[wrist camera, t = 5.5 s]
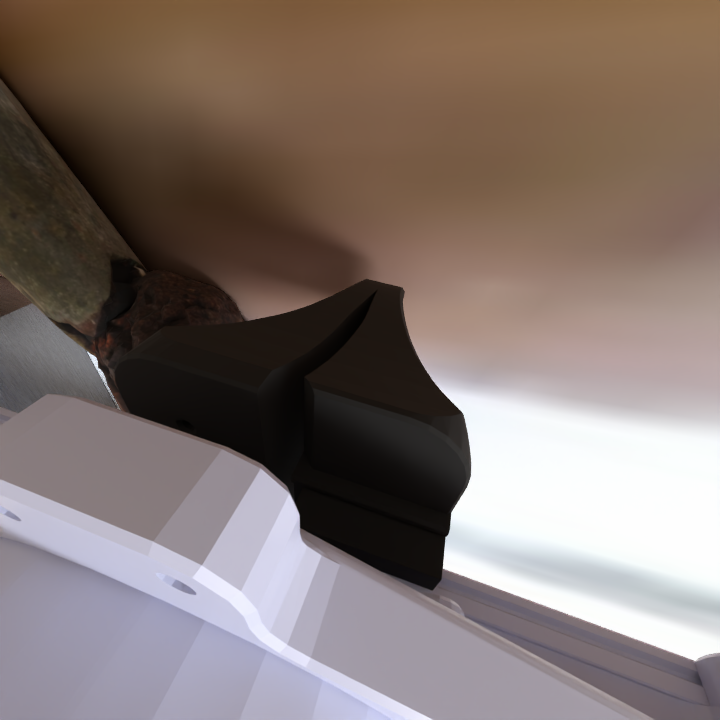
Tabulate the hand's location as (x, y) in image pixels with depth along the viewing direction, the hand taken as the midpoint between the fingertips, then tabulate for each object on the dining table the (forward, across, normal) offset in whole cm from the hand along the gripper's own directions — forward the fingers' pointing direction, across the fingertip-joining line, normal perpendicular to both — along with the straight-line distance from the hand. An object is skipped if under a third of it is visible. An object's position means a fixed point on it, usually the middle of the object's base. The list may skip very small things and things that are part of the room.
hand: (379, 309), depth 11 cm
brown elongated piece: (+2, +10, +2) cm, 11 cm away
